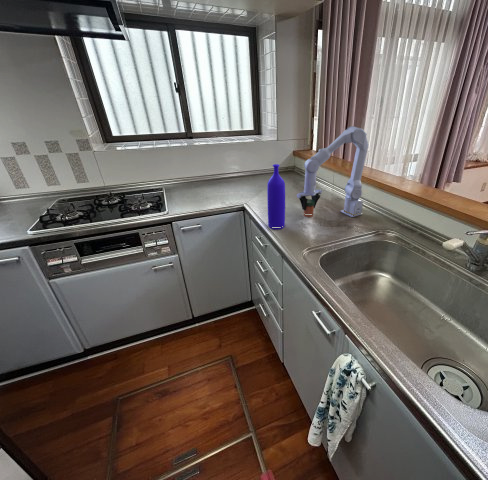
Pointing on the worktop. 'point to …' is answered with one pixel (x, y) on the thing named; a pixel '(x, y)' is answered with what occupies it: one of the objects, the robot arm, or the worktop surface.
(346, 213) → the robot arm
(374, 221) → the worktop surface
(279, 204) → the bottle
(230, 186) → the worktop surface
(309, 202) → the jar lid
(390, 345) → the worktop surface
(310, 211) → the jar
